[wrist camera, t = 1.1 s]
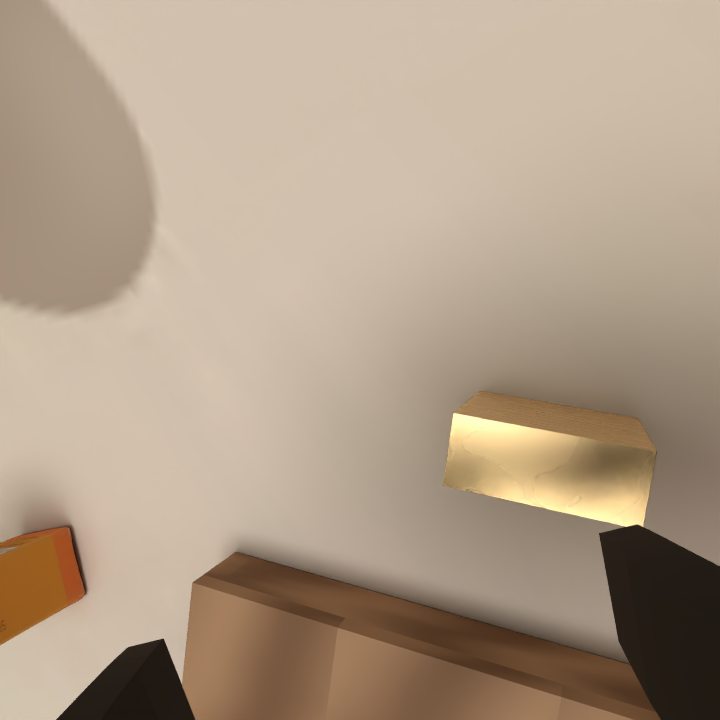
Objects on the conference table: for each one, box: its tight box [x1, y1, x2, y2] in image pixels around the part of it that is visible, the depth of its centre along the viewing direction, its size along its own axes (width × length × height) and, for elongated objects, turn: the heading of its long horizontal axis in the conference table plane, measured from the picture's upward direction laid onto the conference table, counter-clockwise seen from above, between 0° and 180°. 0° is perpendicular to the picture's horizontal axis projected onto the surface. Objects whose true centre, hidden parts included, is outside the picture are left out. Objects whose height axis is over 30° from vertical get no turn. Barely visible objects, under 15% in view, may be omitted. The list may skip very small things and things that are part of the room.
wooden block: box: [443, 391, 657, 527], centre depth 19 cm, size 5×2×5 cm, turn 84°
